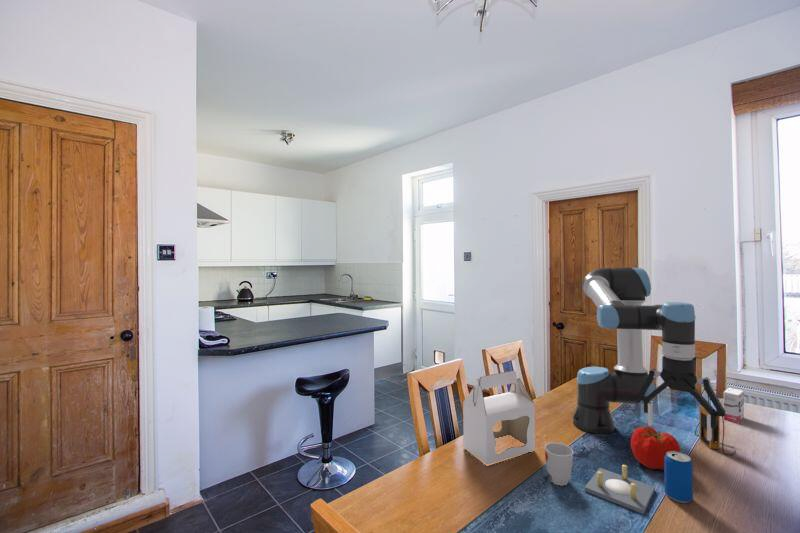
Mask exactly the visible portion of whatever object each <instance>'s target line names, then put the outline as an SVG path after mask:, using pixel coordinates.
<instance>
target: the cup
mask: <svg viewBox="0 0 800 533" xmlns="http://www.w3.org/2000/svg"><path fill="white" fill-rule="evenodd" d="M544 457H545V463H546V470H547V473H548V478H549V480H550V482H551V483H552V482H553V483H552V484H554V485H556V486H559V485H560V487H562V486H563V487H564V485H565V486H567V485H568V484H569V482H570V478H571V476H572V475H571V474H572V468H573V464H574V463H573V462H574V450H573V449H572V447H570V446H569V445H567V444H564V443H559V442H549V443H546V444H545V445H544Z"/></svg>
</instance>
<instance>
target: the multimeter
mask: <svg viewBox="0 0 800 533" xmlns="http://www.w3.org/2000/svg"><path fill="white" fill-rule="evenodd" d="M704 391H705V389H704V388H703V390H702V392H701V393H700V394H701V395H702V396H703V394H704ZM707 402H708V403H709V404H710V405H711V402H712V401H710V398H709V396H708V395H707ZM711 406H712V405H711ZM698 408H699V410H698V412H699V414H698V415H699V416H698V417H699V421H698V424H697V426H696V427H695V430H694V435H695V436H697V437H699V440H700V442H701V443H703V444H705V445H706V446H707V447H708V448H709V449H712V450H713V449H714V450H720V445H722V446H721V448H722V453H723V454H724V455H727V456H733V455H734V454H735V452H736V450H735V449H738V450H740V448H739V447H735V446H734V445H729V444H726V443H724V439H725V438H724V437H725V419H724V417H722V416H718V417H717V427H716V429H714V428H712V438H711V441H708V440H707V415H708V412H707V411H706V410H705V409H704V407H703V406H702V405H701V404H700V405H699V407H698ZM720 417H721V418H722V426H723V430H722V443H721V442H720V435H721V434H720V433H721V432H720V426H721V425H720V424H721V423H720V421H721V420H720ZM698 427H699V428H698ZM697 430H699V434H697ZM724 446H725V447H729V448H732V449H733V450H732V452H731V454H728V453H725V451H724V450H725V449H724Z"/></svg>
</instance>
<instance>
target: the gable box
mask: <svg viewBox="0 0 800 533" xmlns="http://www.w3.org/2000/svg"><path fill="white" fill-rule="evenodd" d="M476 381H477V384H476V385H474V387H473V388H472V389H471V391H470V392H469V394H468V395H467V396H466V398H465V399H464V400H463V402H462V407H463V408H462V409H463V410H462V412H463V413H462V414H463V415H462V419H463V420H462V421H463V425H462V426H463V429H462V430H463V432H462V433H463V449H464V448H465V449H467V450H468V451H470V452H471V453H472V454H473V455H475V456H476V457H478V458H479V459H481V460H482V461H483V462H484V463H486V464H490V463H494V462H497V461H500V460H504V459H506V458H510V457H514V456H518V455H521V454H524V453H528V452H531V451H534V450H535V451H536V446H535V444H536V439H535V438H536V437H535V436H536V434H535V433H536V428H535V427H536V425H535V418H536V417H535V416H536V415H535V403H534V400H533V399H532V397H531V396H530V393H529V392H528V390H527V388H526V387H525V385H524V383H523V382H522V378H521V377H518V376H517V372H516V371H515V370H508V371H504V372H500V373H492V374H488V375H483V376H480V377H479V378H477V379H476ZM506 385H510V388H509V391H508V392H502V393H499V394H495V395H490V396H484V393H483V390H484V391H485V390H486V389H492V388H496V387H502V386H506ZM499 422H501V429H500V430H499V431H494V427H495V425H496V424H498V423H499ZM506 435H511V436H512V437H514V438H515V439H517V440H519V441H520V442H522V443H524V444H525V445H524V446H521V447H511V448H508V449H506V450H505V451H503V452H502V453H500V454H496V451H495V449H496V441H495V438H499V437H503V436H506Z"/></svg>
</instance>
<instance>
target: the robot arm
mask: <svg viewBox="0 0 800 533" xmlns="http://www.w3.org/2000/svg"><path fill="white" fill-rule="evenodd" d="M581 282H582V283H581V288H582V291H583V293H584V295H586V297H588V298H590V299H591V301H592V302H593V303H594V305H595V306H596V308H597V309H596V321H597V324H598V326H599V327H600V328H602V329H610V330H616V340H617V341H616V343H617V364H616V365H615V366H613V372H611V371H609V369H608V368H607V367H602V366H601V367H600V366H586V367H583V368H581V369H579V370H578V372H577V374H576V376H577V377H576V386H577V390H576V391H577V393H576V394H577V397H576V398H577V399H576V400H577V405H576V406H575V407H576V408H575V410H574V413H573V416H572V423H573V425H574V426H575V427H577V428H578V429H579V430H582V431H584V432H589V433H592V434H593V433H594V434H609V433H612V432H614V431H615V422H614V419H613V416H612V414H611V413H612V412H611V410H610V403H618V404H619V403H620V404H631V405H633V404H634V405H643V412H644V413H645V414H647V425H648V427H652V426H653V424H654V402H653V399H654V398H655V397H657V396H658V395H659V394H660V393H662V391H664V390H665V389H667V388H669V389H670V390H674V391H680V392H688V393H689V394H690V395H691V396H692V397H693V398H694V399H695V400H696V401H697V402H698V403H699V405H700V406H701V405H702V406H703V407H704V409H705V410H706V411H707V412H708V415H707V440H708V441H711V438H712V428H714V429H716V427H717V417H718V416H720V417H721V418H722V417H723V418H724V416H725V413H726V412H725V410H724V405H722V403H721V401H720V399H719V398H718V395H717V394H716V392H715V391H714V389H713V388H712V386H711V379H710V378H709V377H704V378H703V377H702V378H701V377H697V376H696V360H695V357H696V342H695V341H696V337H695V335H696V334H695V333H696V332H695V331H696V325H695V324H696V323H695V322H696V315H695V314H696V313H695V306H694V305H693V304H692V303H689V302H679V301H678V302H676V301H675V302H674V301H672V302H671V301H668V302H664V303H662V304H654V305H643V304H644V303H645V302H646V298H647V297H650V295H651V291H652V284H651V280H650V277H649V274H648V272H647V271H646V270H645V269H644V268H641V267H631V266H629V267H601V268H600V267H599V268H595V269H594V270H591V271H590V272H589V273H587V274H586V275H585V276H584V278H583V279H582V281H581ZM645 330H646V331H651V330H652V331H661V344H662V345H661V353H662V355H663V356H662V359H661V360H662V361H661V362H662V364H661V365H662V366H661V371H659V370H656V369H654V368H651V369H650V370H649V371H648V369H647V368H645V367H644V362H643V359H644V357H643V332H642V331H645ZM658 377H660V378H661V380H662V381H663V382H662V383H661V384H660V385H659V386H657V387H655V383H654V380H655V379H657V378H658ZM697 383H698V384H700V386H701V387H703V390H704V389H705V390H704V391H705V393H706V394H707V397H708V396H709V401H710V402H712V405H710V404H709V403H708V399H707V400H706V398H705V397H704V396H703V394H702V393H701V392H699V390H698V389H697V388H696V386H695V385H696V384H697ZM701 394H702V395H701ZM713 406H714V407H713Z"/></svg>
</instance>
